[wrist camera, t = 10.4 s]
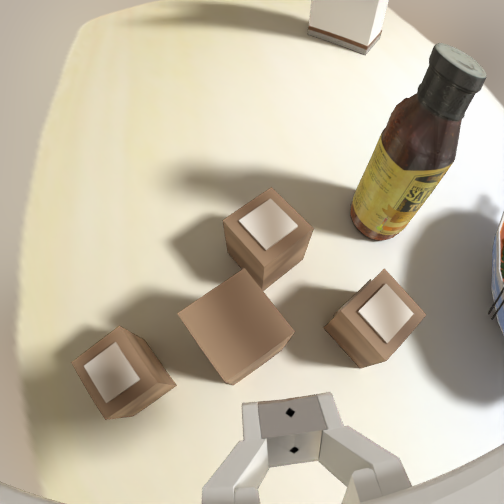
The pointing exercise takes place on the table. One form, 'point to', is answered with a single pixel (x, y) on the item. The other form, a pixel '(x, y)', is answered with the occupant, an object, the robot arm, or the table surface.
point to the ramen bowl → (498, 275)
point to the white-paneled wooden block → (267, 237)
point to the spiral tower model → (348, 22)
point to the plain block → (237, 327)
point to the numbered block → (122, 374)
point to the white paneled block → (375, 321)
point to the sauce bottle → (416, 145)
